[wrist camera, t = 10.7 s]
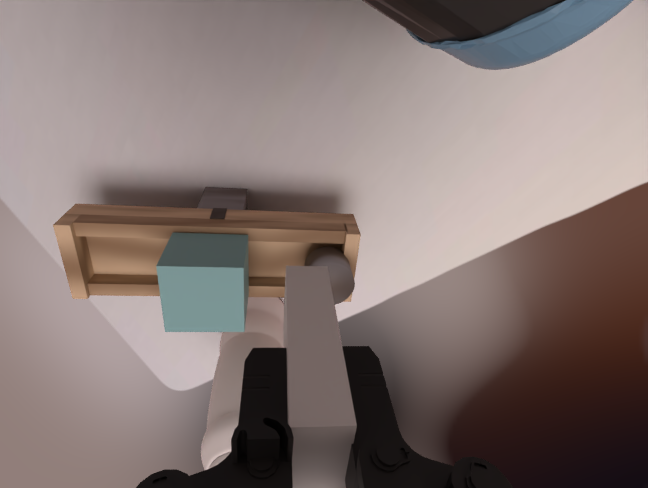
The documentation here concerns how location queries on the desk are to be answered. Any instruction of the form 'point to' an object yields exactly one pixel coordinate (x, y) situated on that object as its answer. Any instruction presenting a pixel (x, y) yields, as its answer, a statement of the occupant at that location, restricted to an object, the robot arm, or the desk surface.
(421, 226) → the desk surface
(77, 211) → the beam
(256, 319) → the white bottle
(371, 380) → the robot arm
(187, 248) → the block
